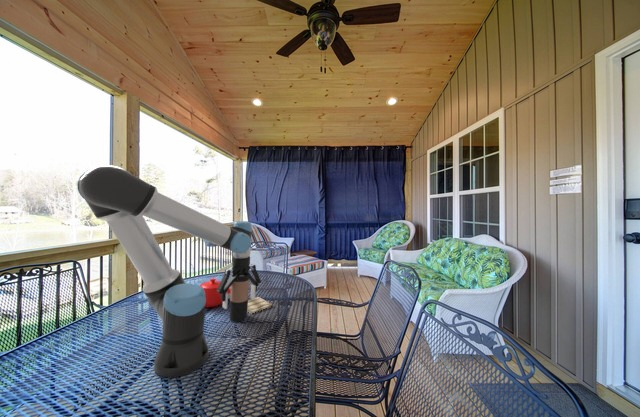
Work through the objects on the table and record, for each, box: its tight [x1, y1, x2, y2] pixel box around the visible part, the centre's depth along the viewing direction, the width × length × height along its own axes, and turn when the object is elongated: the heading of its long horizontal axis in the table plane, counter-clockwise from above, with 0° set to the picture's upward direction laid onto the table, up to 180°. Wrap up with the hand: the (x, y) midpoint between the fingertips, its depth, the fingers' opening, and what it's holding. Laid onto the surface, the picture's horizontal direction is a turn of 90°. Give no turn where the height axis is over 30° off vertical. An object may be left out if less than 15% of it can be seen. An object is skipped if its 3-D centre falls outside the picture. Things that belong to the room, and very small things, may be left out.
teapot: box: [199, 277, 231, 309], centre depth 119 cm, size 25×16×12 cm, turn 133°
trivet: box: [247, 296, 273, 315], centre depth 118 cm, size 12×12×2 cm
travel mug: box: [229, 274, 250, 323], centre depth 105 cm, size 8×8×20 cm
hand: (239, 303), depth 105 cm, fingers open, 13 cm apart
